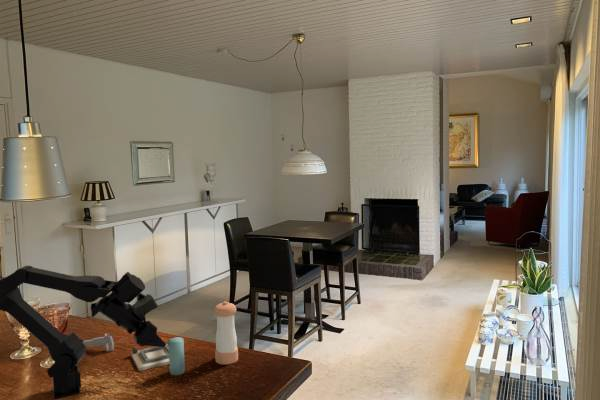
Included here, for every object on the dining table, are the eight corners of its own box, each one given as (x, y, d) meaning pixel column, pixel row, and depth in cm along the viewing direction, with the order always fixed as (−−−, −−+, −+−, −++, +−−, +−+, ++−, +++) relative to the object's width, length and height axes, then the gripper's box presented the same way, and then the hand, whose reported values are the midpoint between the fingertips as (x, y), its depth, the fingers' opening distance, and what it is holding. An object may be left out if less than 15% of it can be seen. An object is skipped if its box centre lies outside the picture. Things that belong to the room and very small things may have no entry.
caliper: (114, 350, 158) (113, 333, 158) (112, 352, 157) (111, 334, 156) (60, 346, 162) (59, 329, 161) (58, 348, 161) (57, 330, 160)
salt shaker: (222, 366, 145) (220, 307, 143) (211, 358, 151) (209, 301, 149) (242, 359, 150) (241, 301, 148) (230, 352, 155) (229, 296, 153)
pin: (172, 376, 139) (170, 344, 138) (168, 370, 143) (166, 339, 142) (186, 372, 141) (185, 341, 140) (182, 367, 145) (181, 336, 144)
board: (138, 371, 143) (138, 361, 142) (130, 355, 154) (130, 346, 154) (184, 360, 150) (183, 351, 149) (173, 345, 161) (172, 337, 161)
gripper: (147, 296, 126) (188, 327, 133) (130, 281, 141) (168, 309, 149) (118, 331, 122) (162, 360, 130) (104, 311, 138) (144, 338, 145)
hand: (160, 340), depth 138 cm, fingers open, 9 cm apart
